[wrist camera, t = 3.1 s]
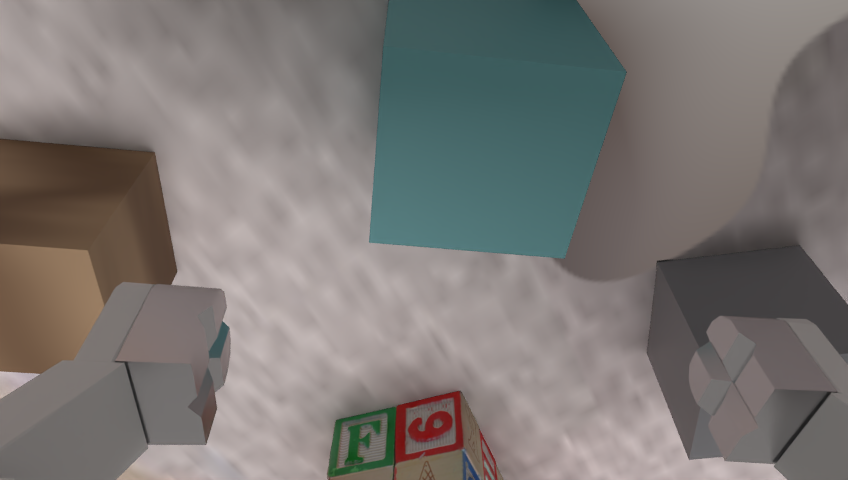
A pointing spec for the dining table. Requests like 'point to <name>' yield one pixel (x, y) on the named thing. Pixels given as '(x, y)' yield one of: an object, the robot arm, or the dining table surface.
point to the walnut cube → (73, 243)
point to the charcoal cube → (730, 296)
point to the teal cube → (489, 124)
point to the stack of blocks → (413, 443)
